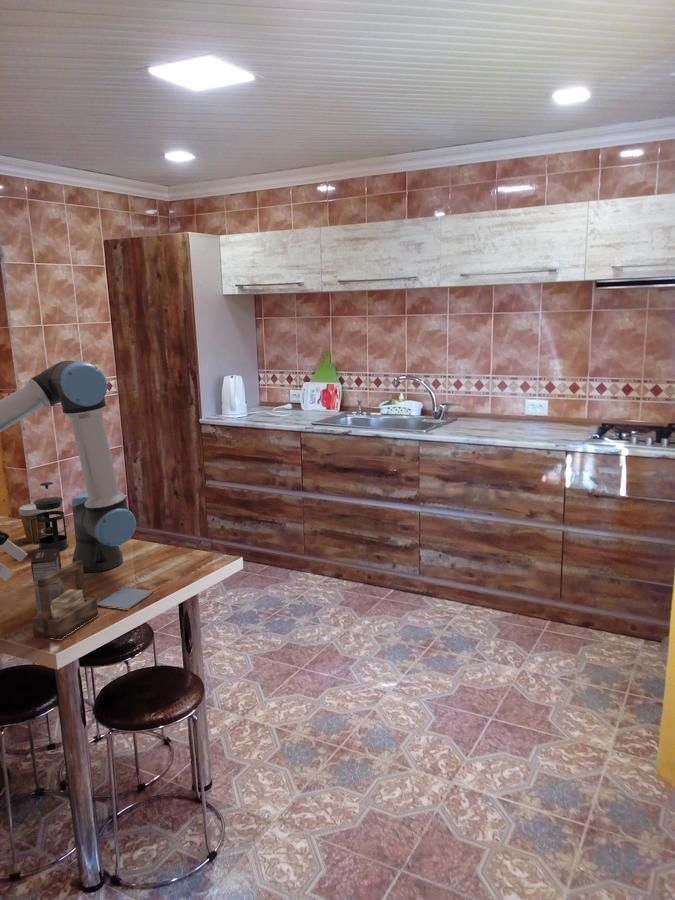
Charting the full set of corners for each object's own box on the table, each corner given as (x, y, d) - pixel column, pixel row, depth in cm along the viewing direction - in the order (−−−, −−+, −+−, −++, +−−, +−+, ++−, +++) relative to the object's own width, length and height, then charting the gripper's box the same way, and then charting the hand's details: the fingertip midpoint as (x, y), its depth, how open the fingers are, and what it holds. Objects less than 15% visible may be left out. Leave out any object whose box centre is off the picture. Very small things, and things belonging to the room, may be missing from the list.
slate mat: (123, 589, 192) (123, 587, 192) (153, 593, 189) (153, 591, 189) (96, 606, 181) (96, 604, 181) (127, 610, 178) (127, 608, 178)
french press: (65, 541, 235) (58, 477, 231) (74, 548, 228) (67, 482, 223) (30, 549, 228) (22, 483, 224) (37, 556, 221) (29, 488, 216)
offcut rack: (73, 612, 178) (67, 559, 175) (98, 616, 175) (92, 561, 172) (34, 636, 165) (26, 579, 162) (60, 641, 162) (53, 582, 159)
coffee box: (40, 606, 182) (34, 550, 179) (66, 603, 184) (60, 547, 181) (36, 620, 173) (29, 561, 170) (63, 617, 175) (56, 558, 172)
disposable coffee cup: (55, 538, 239) (52, 505, 237) (29, 545, 232) (25, 511, 230) (43, 532, 245) (39, 501, 243) (17, 539, 238) (13, 507, 236)
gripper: (-46, 513, 180) (20, 561, 186) (-85, 543, 156) (-7, 597, 162) (-27, 492, 180) (38, 541, 186) (-63, 519, 156) (14, 574, 162)
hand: (17, 567), depth 174 cm, fingers open, 13 cm apart
